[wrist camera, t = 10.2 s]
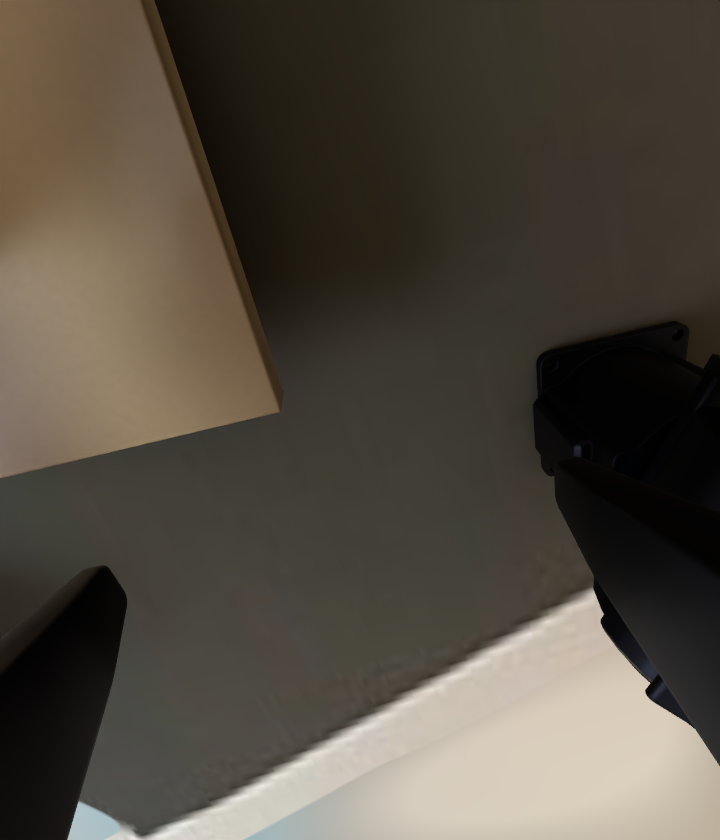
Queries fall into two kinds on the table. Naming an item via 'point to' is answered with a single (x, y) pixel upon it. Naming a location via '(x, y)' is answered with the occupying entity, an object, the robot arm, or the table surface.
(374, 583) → the table surface
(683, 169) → the table surface
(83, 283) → the board
